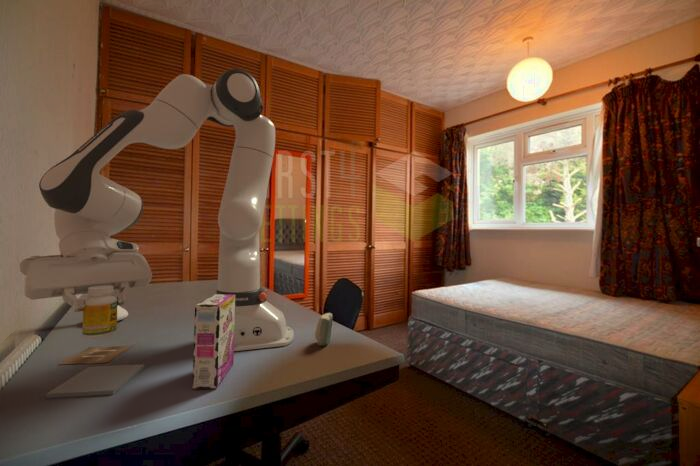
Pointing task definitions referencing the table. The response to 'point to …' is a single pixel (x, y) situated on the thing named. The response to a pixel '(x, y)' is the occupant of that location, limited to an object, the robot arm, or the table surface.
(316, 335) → the beige upright rounded block
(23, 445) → the table surface
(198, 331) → the candy bar box
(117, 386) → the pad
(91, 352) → the tile
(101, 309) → the supplement bottle
